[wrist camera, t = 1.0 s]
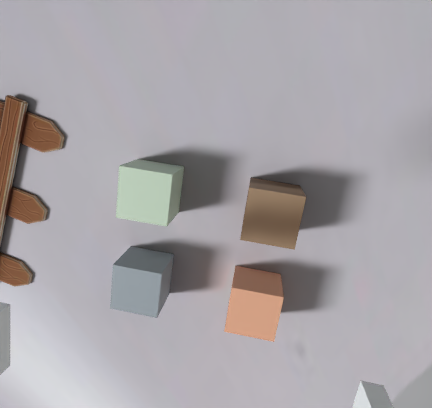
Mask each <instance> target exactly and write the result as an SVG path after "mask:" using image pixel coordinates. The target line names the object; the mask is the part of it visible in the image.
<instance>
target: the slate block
mask: <svg viewBox="0 0 432 408" xmlns="http://www.w3.org/2000/svg"><path fill="white" fill-rule="evenodd" d="M173 258H174V254H170V253H165V252H160V251H154V250H149V249H143V248H138V247H133V246H131V247H130V248H129V249H128V250H127V251H126V252H125V253H124V254H123V255H122V256H121V257H120V258H119V259H118V260H117V261H116V262H115V263H114V264H113V272H112V288H111V304H110V308H111V309H116V310H120V311H125V312H130V313H135V314H140V315H145V316H150V317H155V318H157V317H158V315H159V313H160V311H161V309H162V307H163V305H164V303H165V301H166V299H167V297H168V295H169V292H170V284H171V275H172V267H173Z"/></svg>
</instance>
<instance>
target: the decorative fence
mask: <svg viewBox="0 0 432 408" xmlns="http://www.w3.org/2000/svg"><path fill="white" fill-rule="evenodd" d="M27 106H28V103H27V102H26V101H23V100H21V99H18V98H16V97H13V96H11V95H7V96H6V98H5V102H2V101H0V245H1V240H2V235H3V229H4V224H5V219H6V215H8V216H10V217H13V218H15V219H18V220H20V221H22V222H25V223H27V224H30V223H36V222H41V221H44V220H46V216H47V212H48V209H47V208H46V207H45V206H44V204H43V203H42V202H41V201H40V200H39V198H38V197H37V196H36V195H33V194H31V193H28V192H26V191H23V190H21V189H18V188H16V187H13V186H12V183H13V178H14V173H15V168H16V163H17V157H18V152H19V147H20V143H21V144H23V145H26V146H28V147H31V148H33V149H36V150H38V151H41V152H44V153H45V152H49V151H54V150H58V149H62V147H63V143H64V138H65V137H64V135H63V134H62V133H61V131H60V130H59V129H58V128H57V126H56V125H55V124H54V123H53V122H52V121H50V120H48V119H45V118H43V117H40V116H38V115H35V114H33V113H30V112H28V111H27ZM32 276H33V273H32V272H31V271H30V270H29V269H28V267H27V266H26V265H25V264H24V263H23V262H22V261H21V260H18V259H16V258H13V257H11V256H8V255H6V254H3V253H1V252H0V281H3V282H5V283H7V284H10V285H12V286H21V285H28V284H30V283H31V281H32Z"/></svg>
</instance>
